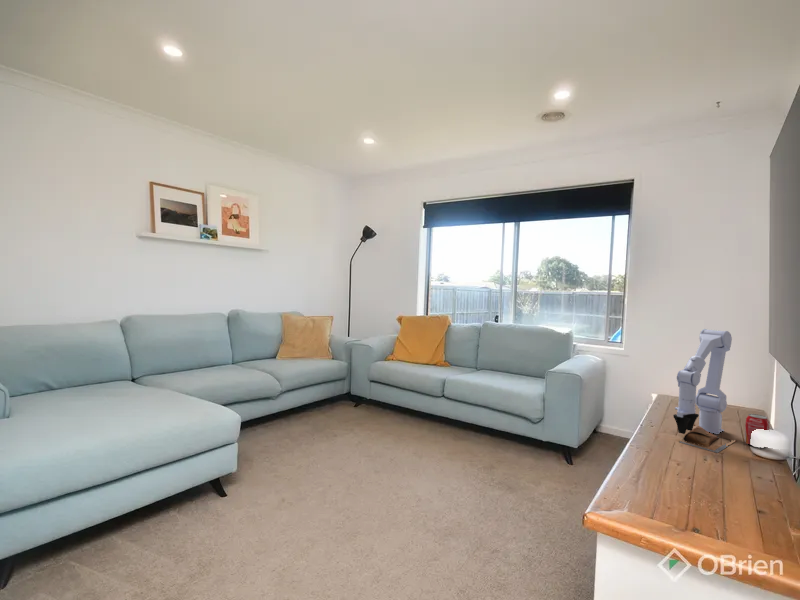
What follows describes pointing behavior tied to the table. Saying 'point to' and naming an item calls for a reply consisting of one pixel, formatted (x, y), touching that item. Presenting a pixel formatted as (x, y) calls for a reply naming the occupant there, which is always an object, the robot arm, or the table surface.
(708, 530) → the table surface
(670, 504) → the table surface
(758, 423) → the soda can
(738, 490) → the table surface
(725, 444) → the taped bay
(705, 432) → the sunglasses case
